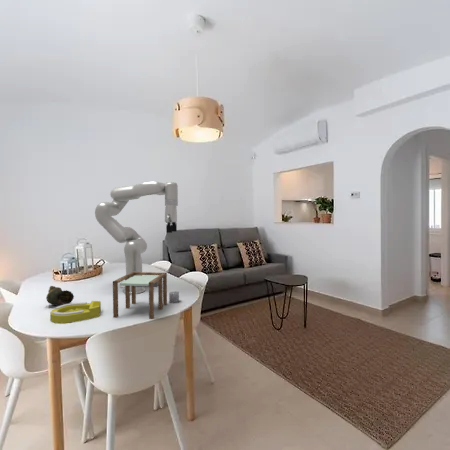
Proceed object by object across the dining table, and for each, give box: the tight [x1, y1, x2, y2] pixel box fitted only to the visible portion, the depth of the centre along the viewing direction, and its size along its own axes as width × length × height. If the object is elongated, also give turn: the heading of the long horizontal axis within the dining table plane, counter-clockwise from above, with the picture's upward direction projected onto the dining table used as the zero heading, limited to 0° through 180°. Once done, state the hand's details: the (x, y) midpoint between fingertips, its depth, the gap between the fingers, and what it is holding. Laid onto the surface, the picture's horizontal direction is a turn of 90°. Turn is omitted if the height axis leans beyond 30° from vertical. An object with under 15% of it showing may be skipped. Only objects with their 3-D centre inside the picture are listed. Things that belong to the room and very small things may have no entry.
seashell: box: [46, 285, 75, 306], centre depth 147 cm, size 11×11×10 cm
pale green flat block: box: [119, 275, 159, 288], centre depth 139 cm, size 15×16×5 cm
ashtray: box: [49, 300, 102, 324], centre depth 133 cm, size 16×21×5 cm
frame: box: [112, 271, 168, 320], centre depth 140 cm, size 19×21×17 cm
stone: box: [168, 290, 180, 304], centre depth 153 cm, size 5×5×5 cm
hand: (171, 232), depth 169 cm, fingers open, 9 cm apart
